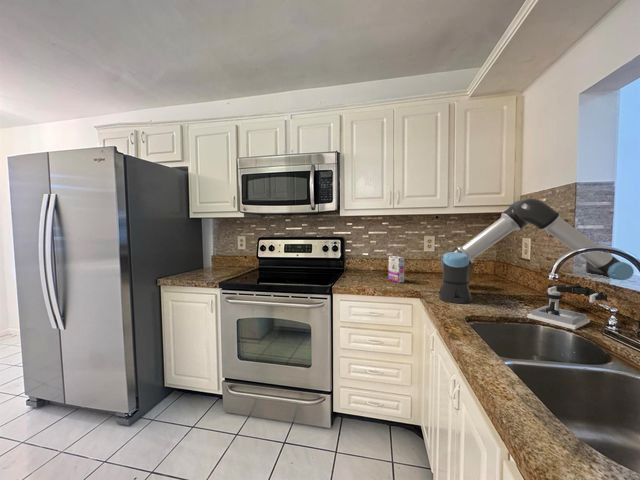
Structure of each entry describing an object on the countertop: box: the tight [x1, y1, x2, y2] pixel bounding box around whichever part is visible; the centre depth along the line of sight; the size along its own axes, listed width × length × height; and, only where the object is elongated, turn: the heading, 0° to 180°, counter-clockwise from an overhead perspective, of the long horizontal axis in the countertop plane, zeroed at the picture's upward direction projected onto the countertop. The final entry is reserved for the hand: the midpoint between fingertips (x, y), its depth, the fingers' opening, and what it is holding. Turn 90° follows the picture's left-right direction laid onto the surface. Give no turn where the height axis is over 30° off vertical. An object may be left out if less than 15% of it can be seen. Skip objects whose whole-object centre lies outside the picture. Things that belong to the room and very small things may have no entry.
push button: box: [545, 291, 564, 316], centre depth 111 cm, size 7×5×10 cm
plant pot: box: [468, 260, 476, 285], centre depth 166 cm, size 15×15×16 cm
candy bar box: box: [387, 255, 406, 284], centre depth 182 cm, size 11×5×16 cm, turn 23°
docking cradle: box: [526, 305, 591, 330], centre depth 110 cm, size 15×15×3 cm
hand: (568, 295), depth 114 cm, fingers open, 13 cm apart
